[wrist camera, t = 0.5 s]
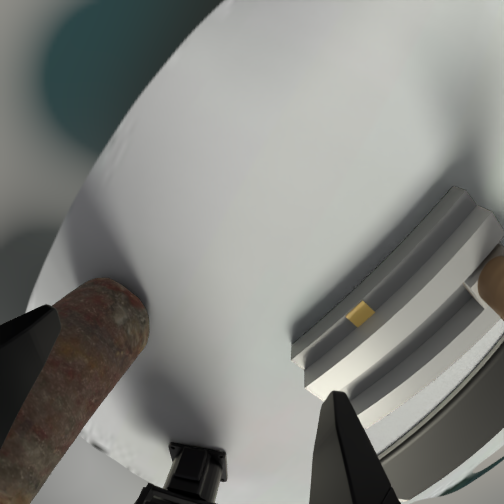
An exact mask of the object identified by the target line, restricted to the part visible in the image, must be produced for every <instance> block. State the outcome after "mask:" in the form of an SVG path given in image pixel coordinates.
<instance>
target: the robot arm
mask: <svg viewBox="0 0 504 504" xmlns="http://www.w3.org/2000/svg"><path fill="white" fill-rule="evenodd" d="M60 331H61V322H60V319H59V315H58V311H57V309H56V308H55V307H52V306H50V305H47V304H46V305H43V306H41V307H38V308H36V309H34V310H32V311H30V312H27V313H25V314H23V315H21V316H19V317H17V318H14V319H12V320H10V321H8V322H6V323H4V324H2V325H0V450H1V448H2V446H3V443H4V441H5V439H6V437H7V435H8V433H9V431H10V429H11V427H12V425H13V423H14V421H15V419H16V417H17V415H18V413H19V411H20V409H21V407H22V405H23V403H24V401H25V400H26V398H27V396H28V394H29V392H30V390H31V389H32V387H33V385H34V383H35V381H36V380H37V378H38V376H39V374H40V373H41V371H42V369H43V367H44V365H45V363H46V361H47V359H48V357H49V355H50V352H51V350H52V348H53V346H54V344H55V342H56V340H57V338H58V336H59V333H60ZM169 450H170V454H171V458H172V461H173V464H172V467H171V469H170V472H169V474H168V477H167V479H166V482H165V484H164V487H163V488H160V487H157V486H154V485H153V484H151V483H148V485H147V486H146V487H143V489H142V491H141V494H140V496H139V498H138V499H137V501H136V502H135V503H134V504H216V503H215V499H216V495H217V491H218V487H219V483H220V481H221V482H226V481H227V462H226V454H225V453H224V452H219V451H213V450H207V449H201V448H196V447H190V446H185V445H181V444H176V443H170V444H169ZM309 504H401V503H400V501H399V499H398V497H397V495H396V493H395V491H394V489H393V487H391V483H390V481H389V479H388V477H387V475H386V473H385V471H384V469H383V466H382V464H381V462H380V460H379V458H378V456H377V454H376V452H375V450H374V448H373V446H372V444H371V442H370V440H369V438H368V436H367V434H366V432H365V430H364V428H363V426H362V424H361V422H360V420H359V418H358V416H357V414H356V412H355V410H354V408H353V406H352V404H351V402H350V400H349V398H348V396H347V394H346V393H345V392H342V391H336V390H333V391H331V392H330V394H329V395H328V397H327V398H326V400H325V401H324V403H323V404H322V407H321V410H320V416H319V423H318V428H317V434H316V440H315V445H314V451H313V461H312V476H311V489H310V501H309Z"/></svg>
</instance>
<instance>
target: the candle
mask: <svg viewBox="0 0 504 504" xmlns="http://www.w3.org/2000/svg"><path fill="white" fill-rule="evenodd" d="M52 307H55V308H56V309H57V311H58V315H59V319H60V322H61V331H60V333H59V336H58V338H57V340H56V342H55V344H54V346H53V348H52V350H51V352H50V355H49V357H48V359H47V361H46V363H45V365H44V367H43V369H42V371H41V373H40V374H39V376H38V378H37V380H36V381H35V383H34V385H33V387H32V389H31V390H30V392H29V394H28V396H27V398H26V400H25V401H24V403H23V405H22V407H21V409H20V411H19V413H18V415H17V417H16V419H15V421H14V423H13V425H12V427H11V429H10V431H9V433H8V435H7V437H6V439H5V441H4V443H3V446H2V448H1V450H0V504H30V503H31V501H32V500H33V499H34V497H35V496H36V494H37V493H38V492H39V490H40V489H41V487H42V486H43V484H44V483H45V481H46V480H47V478H48V477H49V475H50V474H51V472H52V471H53V469H54V468H55V467H56V465H57V464H58V462H59V461H60V460H61V458H62V457H63V456H64V454H65V453H66V451H67V450H68V448H69V447H70V446H71V444H72V443H73V442H74V441H75V439H76V438H77V436H78V435H79V433H80V432H81V430H82V429H83V427H84V426H85V424H86V423H87V422H88V420H89V419H90V418H91V416H92V415H93V414H94V412H95V411H96V410H97V408H98V407H99V406H100V404H101V403H102V402H103V400H104V399H105V398H106V397H107V395H108V394H109V393H110V391H111V390H112V389H113V388H114V386H115V385H116V384H117V382H118V381H119V380H120V378H121V377H122V376H123V375H124V373H125V372H126V371H127V369H128V368H129V367H130V366H131V364H132V363H133V362H134V360H135V359H136V358H137V356H138V355H139V354H140V352H141V351H142V350H143V349H144V347H145V346H146V344H147V341H148V336H149V318H148V314H147V311H146V308H145V307H144V306H143V304H142V302H141V301H140V299H139V298H138V297H137V296H135V295H134V294H133V293H131V292H130V291H129V290H128V289H127V288H126V287H124V286H122V285H121V284H119V283H117V282H116V281H114V280H112V279H110V278H95V279H92V280H89V281H87V282H86V283H84V284H83V285H81V286H79V287H78V288H76V289H75V290H73V291H72V292H70V293H69V294H68V295H66V296H65V297H63V298H62V299H61V300H59V301H58V302H57V303H55V304H54V305H52Z"/></svg>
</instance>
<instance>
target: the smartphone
mask: <svg viewBox="0 0 504 504" xmlns="http://www.w3.org/2000/svg"><path fill="white" fill-rule="evenodd" d="M503 428H504V335H503V336H502V338H501V339H500V340H499V341H498V342H497V344H496V345H495V346H494V347H493V349H492V350H491V351H490V352H489V353H488V355H487V356H486V357H485V358H484V359H483V360H482V361H481V363H480V364H479V365H478V366H477V367H476V368H475V369H474V370H473V371H472V373H471V374H470V375H469V376H468V377H467V378H466V379H465V380H464V381H463V382H462V383H461V384H460V385H459V386H458V387H457V388H456V389H455V390H454V391H453V392H452V393H451V394H450V395H449V396H448V397H447V398H446V399H445V400H444V401H443V402H442V403H441V404H440V405H439V406H438V407H437V408H436V409H434V410H433V411H432V412H431V413H430V414H429V415H428V416H427V417H426V418H424V419H423V420H422V421H421V422H420V423H419V424H418V425H416V426H415V427H414V428H413V429H412V430H410V431H409V432H408V433H407V434H406V435H404V436H403V437H402V438H401V439H399V440H398V441H397V442H396V443H394V444H393V445H392V446H390V447H389V448H388V449H386V450H385V451H384V452H382V453H381V454H380V455H378V458H379V460H380V462H381V464H382V466H383V469H384V471H385V473H386V475H387V477H388V479H389V481H390V483H391V487H393V489H394V491H395V493H396V495H397V497H398V499H399V501H402V502H405V501H408V500H410V499H412V498H413V497H415V496H416V495H418V494H420V493H421V492H423V491H424V490H426V489H427V488H429V487H430V486H432V485H433V484H435V483H436V482H438V481H439V480H441V479H442V478H443V477H445V476H446V475H448V474H449V473H450V472H452V471H453V470H454V469H456V468H457V467H458V466H460V465H461V464H462V463H464V462H465V461H466V460H467V459H469V458H470V457H471V456H472V455H473V454H475V453H476V452H477V451H478V450H479V449H481V448H482V447H483V446H484V445H485V444H486V443H488V442H489V441H490V440H491V439H492V438H493V437H494V436H495V435H496V434H498V433H499V432H500V431H501V430H502V429H503Z"/></svg>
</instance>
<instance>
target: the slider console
mask: <svg viewBox="0 0 504 504" xmlns="http://www.w3.org/2000/svg"><path fill="white" fill-rule="evenodd" d="M503 237H504V230H503V228H502V226H501V225H500V223H499V222H498V220H497V218H496V217H495V215H494V213H493V212H492V211H490V210H487V209H485V208H482V207H480V206H477V205H476V203H475V202H474V200H473V199H472V198H471V196H470V195H469V193H468V192H467V191H466V190H464V189H461V188H457V187H454V186H453V187H452V188H451V189H450V190H449V191H448V193H447V194H446V195H445V196H444V197H443V198H442V199H441V201H440V202H439V203H438V204H437V205H436V206H435V207H434V208H433V210H432V211H431V212H430V213H429V214H428V215H427V216H426V217H425V218H424V219H423V221H422V222H421V223H420V224H419V225H418V226H417V227H416V228H415V229H414V230H413V231H412V232H411V233H410V234H409V235H408V237H407V238H406V239H405V240H404V241H403V242H402V243H401V244H400V245H399V246H398V247H397V248H396V249H395V250H394V251H393V252H392V253H391V254H390V255H389V256H388V257H387V258H386V259H385V260H384V261H383V262H382V263H381V264H380V265H379V266H378V267H377V268H376V269H375V270H374V271H373V272H372V273H371V274H370V275H369V276H368V277H367V278H366V279H365V280H364V281H363V282H362V283H361V284H359V285H358V286H357V287H356V288H355V289H354V290H353V291H352V292H351V293H350V294H349V295H348V296H347V297H346V298H345V299H343V300H342V301H341V302H340V303H339V304H338V305H337V306H336V307H335V308H334V309H333V310H331V311H330V312H329V313H328V314H327V315H326V316H325V317H324V318H322V319H321V320H320V321H319V322H318V323H317V324H316V325H315V326H313V327H312V328H311V329H310V330H309V331H308V332H306V333H305V334H304V335H303V336H302V337H301V338H299V339H298V340H297V341H296V342H295V343H294V344H292V347H291V361H292V362H294V363H295V364H296V365H298V366H299V367H300V368H302V369H303V370H304V381H305V389H307V390H308V391H309V392H311V393H312V394H314V395H315V396H317V397H318V398H320V399H321V400H323V401H325V400H326V398H327V397H328V395H329V394H330V392H331V391H333V390H336V391H342V392H345V393H346V394H347V396H348V398H349V400H350V402H351V404H352V406H353V408H354V410H355V412H356V414H357V416H358V418H359V420H360V422H361V424H362V426H363V428H365V429H367V428H369V427H370V426H372V425H373V424H375V423H376V422H378V421H379V420H381V419H382V418H384V417H385V416H387V415H388V414H390V413H391V412H393V411H394V410H396V409H397V408H398V407H400V406H401V405H403V404H404V403H405V402H407V401H408V400H409V399H411V398H412V397H413V396H415V395H416V394H417V393H419V392H420V391H421V390H423V389H424V388H425V387H426V386H428V385H429V384H430V383H431V382H433V381H434V380H435V379H436V378H438V377H439V376H440V375H441V374H442V373H444V372H445V371H446V370H447V369H448V368H449V367H451V366H452V365H453V364H454V363H455V362H456V361H457V360H459V359H460V358H461V357H462V356H463V355H464V354H465V353H466V352H467V351H468V350H470V349H471V348H472V347H473V346H474V345H475V344H476V343H477V342H478V341H479V340H480V339H481V338H482V337H483V336H484V335H485V334H486V333H487V332H488V331H489V330H490V329H491V328H492V327H493V326H494V325H495V324H496V323H497V322H498V321H499V320H500V319H501V317H500V316H499V315H498V314H497V313H496V312H495V311H494V310H493V309H492V308H491V307H490V306H488V307H487V308H486V309H484V308H483V307H482V306H481V305H480V304H479V303H478V302H477V301H476V300H475V299H474V298H473V297H472V296H471V295H470V293H469V292H468V291H467V289H466V288H465V287H464V285H463V284H462V283H463V282H464V281H465V280H466V279H467V278H468V277H469V276H470V275H471V274H472V273H473V272H474V270H475V269H476V268H477V267H478V266H479V265H480V264H481V263H482V261H483V260H484V259H485V258H486V257H487V256H488V255H489V253H490V252H491V251H492V250H493V249H494V248H495V246H496V245H497V244H498V243H499V244H500V245H502V244H501V242H500V240H501V239H502V238H503Z"/></svg>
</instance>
